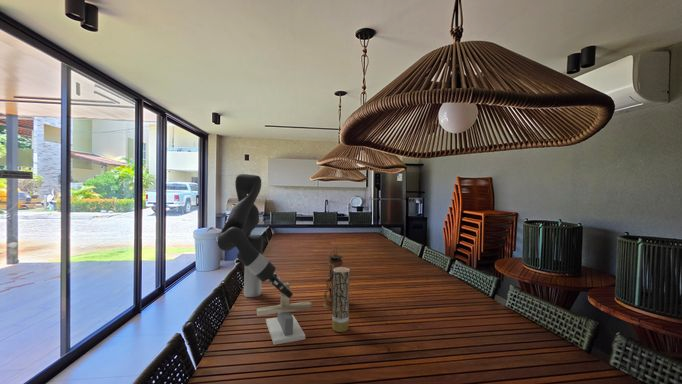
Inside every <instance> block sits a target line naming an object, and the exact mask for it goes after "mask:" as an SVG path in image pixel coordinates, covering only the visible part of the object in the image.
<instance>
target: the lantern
mask: <svg viewBox="0 0 682 384" xmlns="http://www.w3.org/2000/svg"><path fill="white" fill-rule="evenodd" d="M336 249H337V246H334V251H333V252H334V254H331V255H328V258H329V260H328V268H327V270H328V271H329V273H328V276H327V277H328V278H329V279H327V280H326V281H325V285H326V286H327V287H326V288H325V292H324V302H323V303H322V306H323V308H325V309H326V310H331V311H333V273H334V268H336V267H344V264H343V260H342V259H343V256H342V255H340V254H338V253H337V252H336V251H335V250H336ZM328 293H329V294H328Z"/></svg>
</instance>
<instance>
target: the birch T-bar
mask: <svg viewBox="0 0 682 384" xmlns="http://www.w3.org/2000/svg"><path fill="white" fill-rule="evenodd" d="M283 283H284V285H285V286H286V287H287V289H288V290H289V291H290V290H291V285H290V283H289V282H283ZM283 288H284V287H283V286H281V288H280V289H281V290H282V289H283ZM279 304H280V305H278V304H277V305H270V306H269V305H268V306H263V307H257V308H256V315H257V317H261V316H267V315H268V316H269V315H273V314H278V313H283V312H290V313H291V312H295V311H303V310H308V309H309V310H310V309H312V302H311V301H310V300H309V301H301V302H293V303H292V302H291V303H290V298H288V297H287V296H286V295H285V294H284V293H281V292H280V303H279Z"/></svg>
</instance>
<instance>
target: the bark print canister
mask: <svg viewBox="0 0 682 384" xmlns="http://www.w3.org/2000/svg"><path fill="white" fill-rule="evenodd" d="M350 274H351V273H350V268H349V267H345V266H343V267H336V268H334V273H333V310H332V317H331V318H332V322H331V323H332V325H331V326H332V330H333V331H334V332H336V333H343V332H344V333H345V332H346V331H348V330H349V321H350V320H349V319H350V318H349V317H350V316H349V315H350V280H351V279H350V278H351V275H350Z"/></svg>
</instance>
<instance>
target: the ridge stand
mask: <svg viewBox="0 0 682 384" xmlns="http://www.w3.org/2000/svg"><path fill="white" fill-rule="evenodd" d="M277 305H280V303H278V304H277ZM276 314H277V317H271V318H266V319H265V323H266V325H267V329H268V332H269V336H270V338H271V340H272V343H273V345H274V346H275V345H281V344H287V343H294V342H298V341H302V340H306V334H305V332H304V330H303V329H302V327H301V326H300V323H299V322H298V320H297V319H296V318H295V316H294V315H293V314H291V311H290V312H283V313H276Z"/></svg>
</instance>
